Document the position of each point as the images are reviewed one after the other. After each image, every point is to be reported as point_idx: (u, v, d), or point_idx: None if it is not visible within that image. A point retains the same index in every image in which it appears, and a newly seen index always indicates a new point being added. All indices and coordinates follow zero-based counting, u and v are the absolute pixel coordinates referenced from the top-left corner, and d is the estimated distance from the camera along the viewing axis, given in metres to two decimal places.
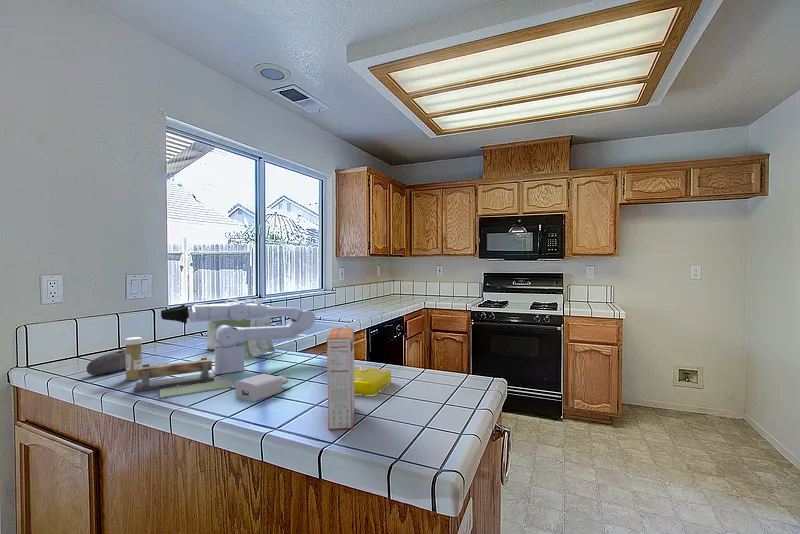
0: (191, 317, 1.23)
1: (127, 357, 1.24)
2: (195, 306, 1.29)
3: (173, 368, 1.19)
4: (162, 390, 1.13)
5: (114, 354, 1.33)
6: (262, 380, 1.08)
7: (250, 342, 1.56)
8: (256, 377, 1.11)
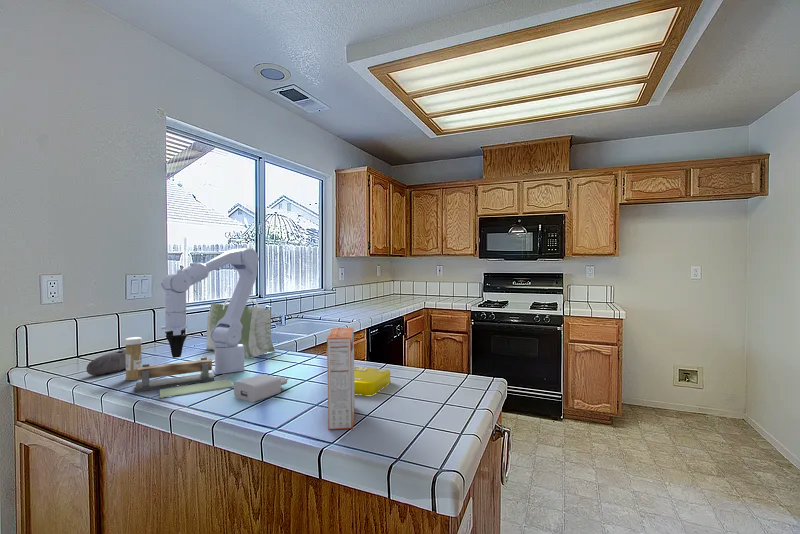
0: (179, 332, 1.15)
1: (127, 357, 1.24)
2: (167, 325, 1.18)
3: (173, 368, 1.19)
4: (162, 390, 1.13)
5: (114, 354, 1.33)
6: (261, 381, 1.07)
7: (250, 342, 1.56)
8: (255, 378, 1.11)
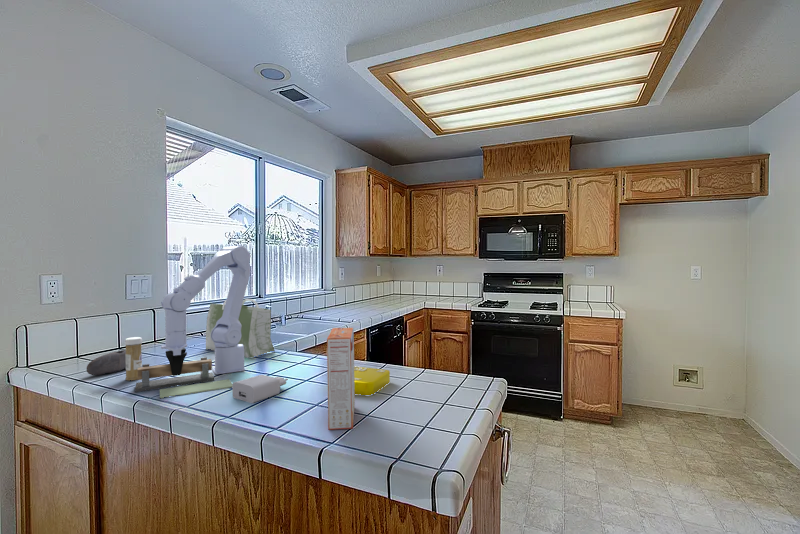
0: (179, 352, 1.15)
1: (127, 357, 1.24)
2: (167, 345, 1.18)
3: None
4: (162, 390, 1.13)
5: (114, 354, 1.33)
6: (260, 382, 1.07)
7: (250, 342, 1.56)
8: (253, 378, 1.10)
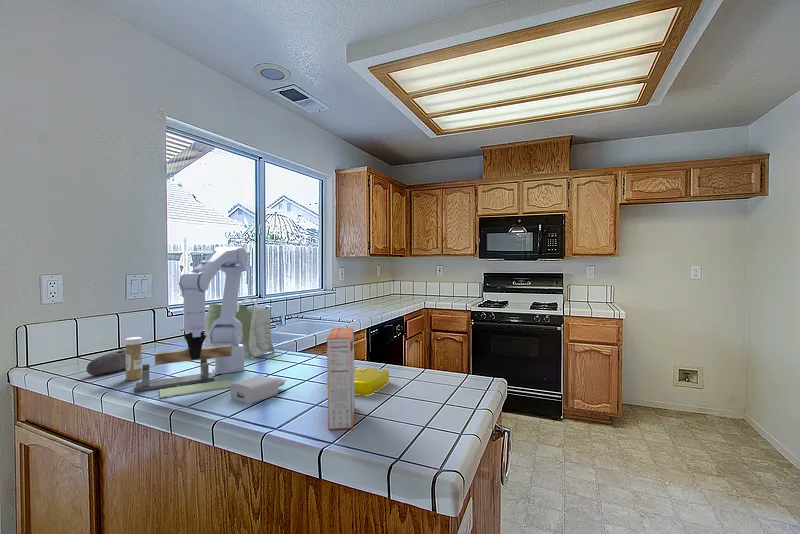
0: (199, 334, 1.09)
1: (127, 357, 1.24)
2: (185, 326, 1.12)
3: None
4: (162, 390, 1.13)
5: (114, 354, 1.33)
6: (258, 383, 1.06)
7: (250, 342, 1.56)
8: (252, 379, 1.09)
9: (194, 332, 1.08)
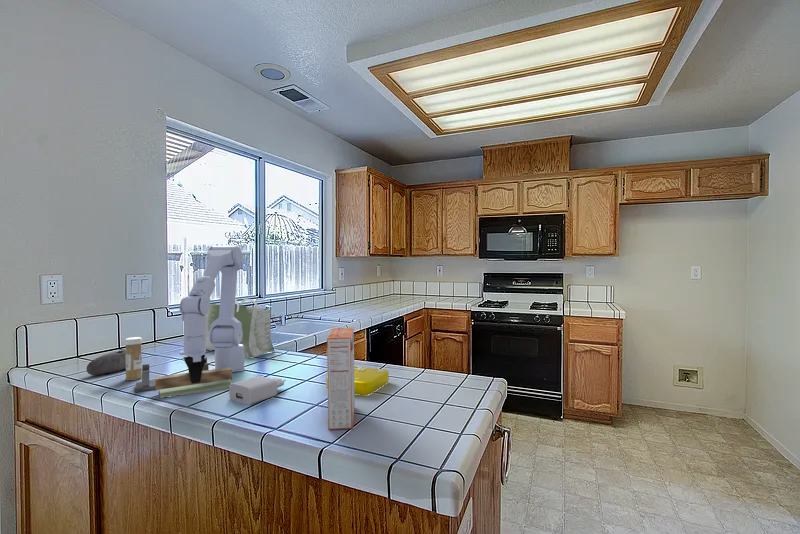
0: (199, 359, 1.09)
1: (127, 357, 1.24)
2: (186, 350, 1.12)
3: None
4: (162, 390, 1.13)
5: (114, 354, 1.33)
6: (257, 383, 1.05)
7: (250, 342, 1.56)
8: (251, 380, 1.09)
9: (194, 357, 1.08)
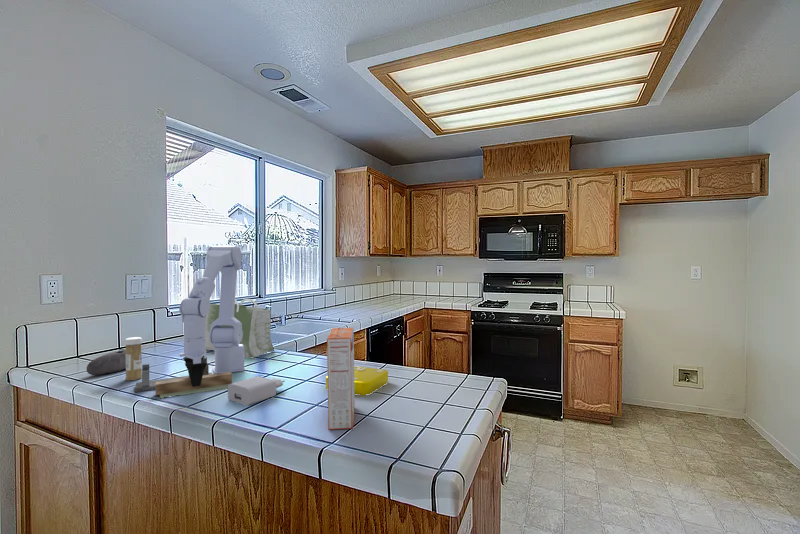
0: (199, 360, 1.09)
1: (127, 357, 1.24)
2: (186, 352, 1.12)
3: None
4: None
5: (114, 354, 1.33)
6: (255, 384, 1.05)
7: (250, 342, 1.56)
8: (249, 380, 1.09)
9: (195, 359, 1.08)
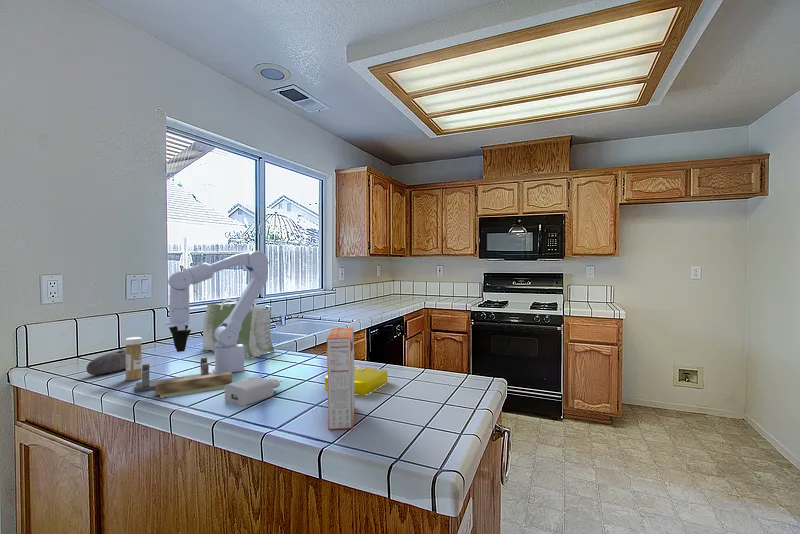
0: (183, 327, 1.21)
1: (127, 357, 1.24)
2: (171, 321, 1.24)
3: (192, 383, 1.13)
4: None
5: (114, 354, 1.33)
6: (252, 384, 1.05)
7: (250, 342, 1.56)
8: (246, 380, 1.08)
9: (179, 326, 1.20)
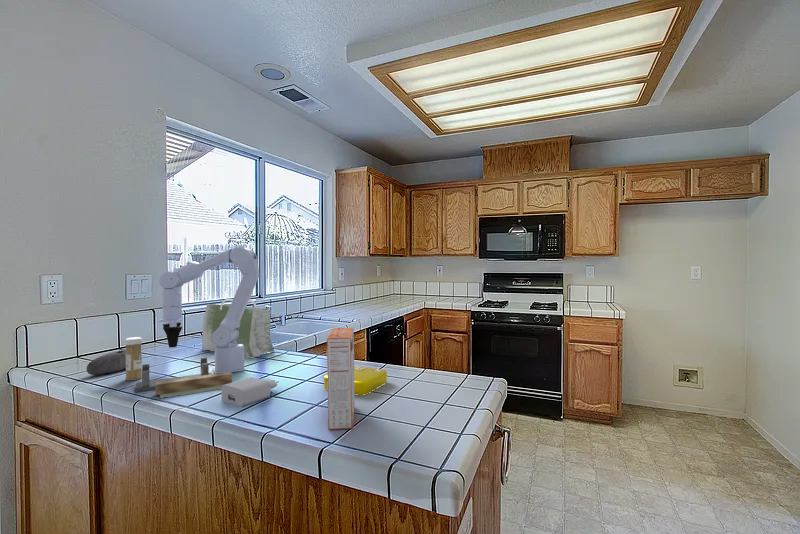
0: (175, 324, 1.28)
1: (127, 357, 1.24)
2: (164, 318, 1.31)
3: (192, 383, 1.13)
4: None
5: (114, 354, 1.33)
6: (249, 384, 1.04)
7: (251, 342, 1.56)
8: (243, 381, 1.08)
9: (171, 323, 1.27)
